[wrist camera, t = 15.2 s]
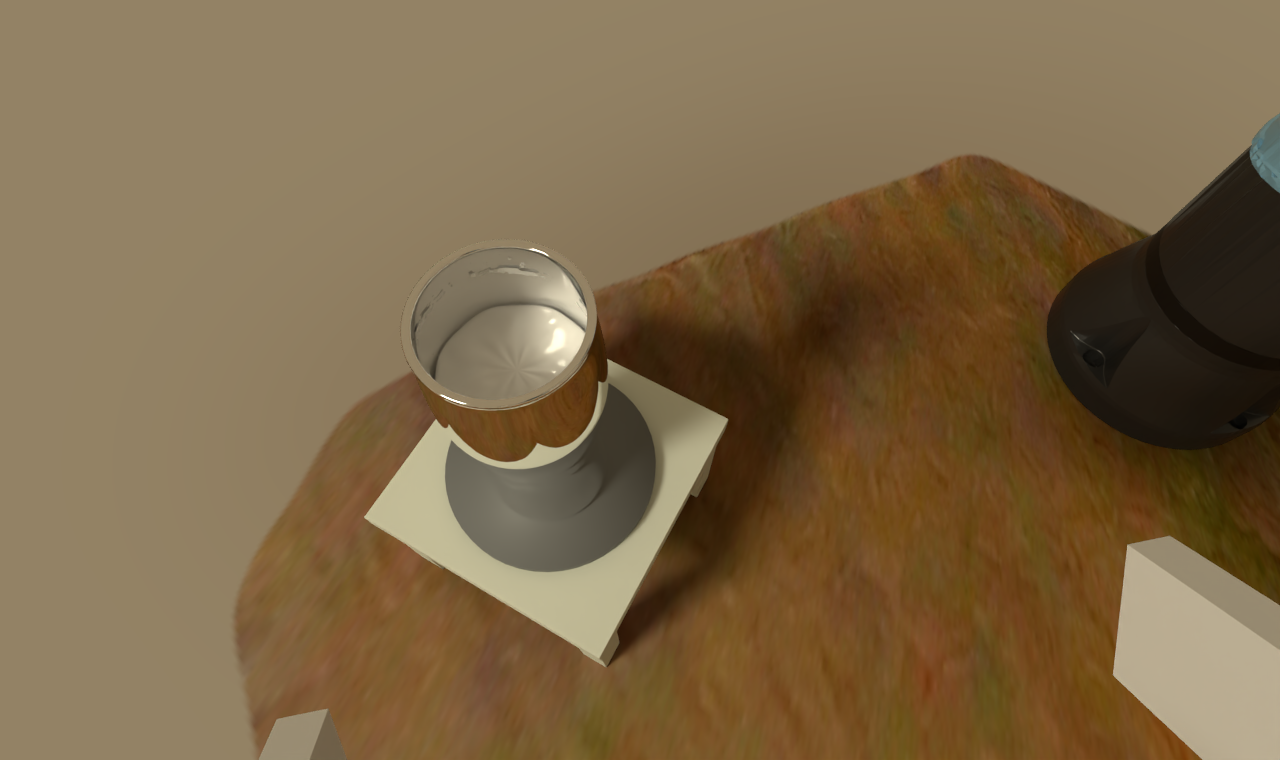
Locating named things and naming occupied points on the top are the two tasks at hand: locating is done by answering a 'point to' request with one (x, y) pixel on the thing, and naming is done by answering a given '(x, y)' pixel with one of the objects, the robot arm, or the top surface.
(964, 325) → the top surface
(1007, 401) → the top surface
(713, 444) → the stool
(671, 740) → the top surface
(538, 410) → the beer glass
